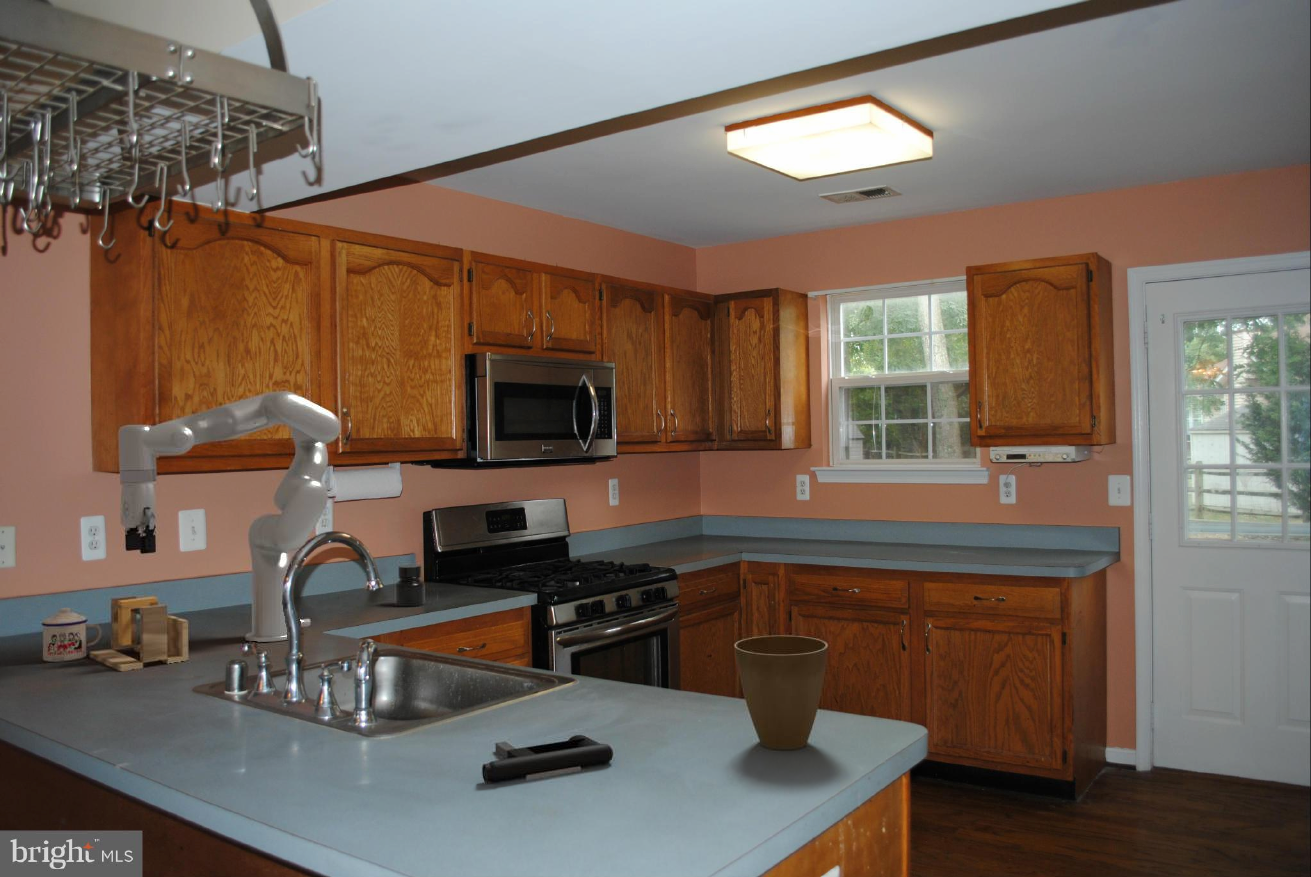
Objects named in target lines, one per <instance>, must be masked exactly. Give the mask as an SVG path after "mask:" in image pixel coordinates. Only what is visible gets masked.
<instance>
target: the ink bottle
mask: <svg viewBox="0 0 1311 877" xmlns="http://www.w3.org/2000/svg"><path fill="white" fill-rule="evenodd" d="M421 577H422V566H421V564H420V565H419V564H406V565H398V579H399V580H398V581H397V582H396V583H395V586H394V603H395V604H394V605H395V606H396V607H402V608H406V607H418V606H419V607H420V606H423V605H425V599H426V598H425V594H426V591H425V590H426V589H425V588H426V587H425V583H424V581H422V580H421Z"/></svg>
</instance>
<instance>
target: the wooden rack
mask: <svg viewBox="0 0 1311 877" xmlns="http://www.w3.org/2000/svg"><path fill="white" fill-rule="evenodd" d="M137 598H138V597H137V596H135V595H130V596H121V597H112V598H110V648H108V649H100V650H95V651H90V652H89V658H91V659H93V660H96V661H98V662H99V663H102V664H104V665H106V666H107V667H111V668H113V669H115V670H117V671H119V672H121V671H122V672H127V671H128V672H129V671H133V670H132V669H134V670H140V668H141V669H144V663H149V662H156V661H159V660H161V661H163V662H162V663H164V662H166V663H167V665H170V664H169V663H172V664H175V663H174V662H178V663H182V662H181V661H185V662H187V661H186V660H188V661H189V620H187V619H184V618H181V617H178V616H174V615H171V614H168V605H167V604H158V605H156V606H148V607H140V608H135V609H131V644H130V645H124V646H122V645H120V644H118V601H120V600H129V599H137ZM137 615H139V616H140V617H139V625H140V626H139V630H140V631H139V635H140V636H139V637H140V638H139V643H140V644H137V643H138V641H137V640H138V639H137V637H138V636H137V635H138V627H137V626H138V625H137V623H138V622H137V621H138V620H137V618H138V616H137ZM130 648H133V649H134V650H135V651H134V650H133V651H134V652H136V653H139V652H140V654H139V658H140V659H139V660H140V661H139V660H137V659H136V658H132V657H131V656H128V655H126V654H124V653H121V652H119V651H117V650H124V649H130ZM161 661H160V662H161ZM166 663H165V664H166Z"/></svg>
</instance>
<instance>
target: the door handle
mask: <svg viewBox="0 0 1311 877" xmlns="http://www.w3.org/2000/svg"><path fill="white" fill-rule="evenodd" d="M494 746H495V753H497V754H498V755H499V756H500V757H501V758H502V759H499V760H491V761H490V762H488V763H483V764H482V766H481V769H482V771H481V772H482V773H481V776H482V779H483V782H484V783H492V784H497V783H502V782H508V781H514V780H515V781H516V780H521V779H525V780H526V781H529V780H534V779H540V778H546V777H552V776H557V775H562V774H569V773H574V772H580V771H581V770H582V769H584V768H590V767H595V766H597V767H598V766H602V765H607V764H609V763H610V762H611V761H612V760H613V757H614V750H613V749H612V747H611V746H610V745H609V744H608V743H599V742H598V741H595V740H594V739H592V738H589V737H588V736H586V735H584V734H583V735H582V734H576V735H573V736H571V737H570V738H569V739H568V740H564V741H557V742H551V743H543V744H539V745H537V744H536V745H531V746H526V747H525V746H524V747H519V748H516V747H514V746H513V745H511V744H510V743H508V742H506V741H501V742H495V744H494Z"/></svg>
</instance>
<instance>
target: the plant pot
mask: <svg viewBox="0 0 1311 877" xmlns="http://www.w3.org/2000/svg"><path fill="white" fill-rule="evenodd" d="M828 645H829V644H828V643H827V642H826V641H824V640H821V639H819V638H815V637H810V636H809V637H808V636H801V635H800V636H799V635H763V636H762V635H761V636H753V637H748V638H743V639H741V640H738V641H736V642H735V643H734V645H733V646H734V652H735V658H736V663H737V668H738V674H739V675H738V676H739V679H740V684H741V688H742V691H743V696H744V699H745V703H746V706H747V709H748V712H749V715H750V719H751V722H752V724H753V727H754V729H755V732H756V735H757V737H758V740H759V743H760V745H761V746H763V747H765V748H767V749H770V750H778V751H793V750H797V749H798V750H799V749H802V748H805V747H806V745H807V744H808V742H809V738H810V735H811V732H812V730H813V726H814V724H815V719H816V717H817V712H818V709H819V705H820V700H821V695H822V690H823V685H824V680H825V674H826V673H825V672H826V666H827V658H828V648H829V646H828Z"/></svg>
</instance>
